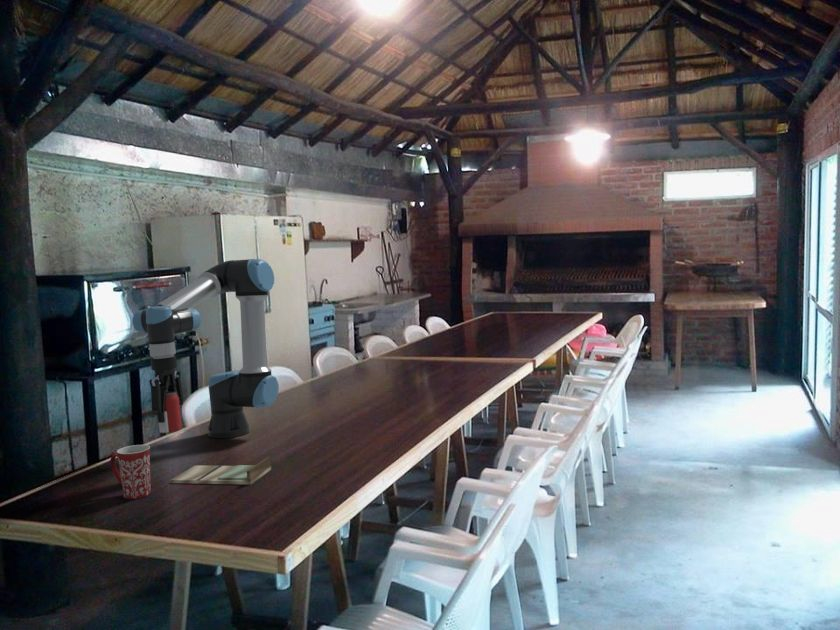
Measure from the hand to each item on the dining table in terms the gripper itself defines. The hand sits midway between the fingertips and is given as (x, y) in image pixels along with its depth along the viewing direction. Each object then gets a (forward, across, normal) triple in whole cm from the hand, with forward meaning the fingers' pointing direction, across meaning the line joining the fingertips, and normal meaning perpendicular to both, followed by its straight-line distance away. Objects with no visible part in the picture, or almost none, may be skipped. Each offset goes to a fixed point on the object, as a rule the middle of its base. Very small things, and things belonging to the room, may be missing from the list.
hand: (170, 428), depth 228 cm
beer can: (+1, 0, 0) cm, 1 cm away
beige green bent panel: (+14, +4, +18) cm, 23 cm away
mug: (+14, +20, -1) cm, 25 cm away
